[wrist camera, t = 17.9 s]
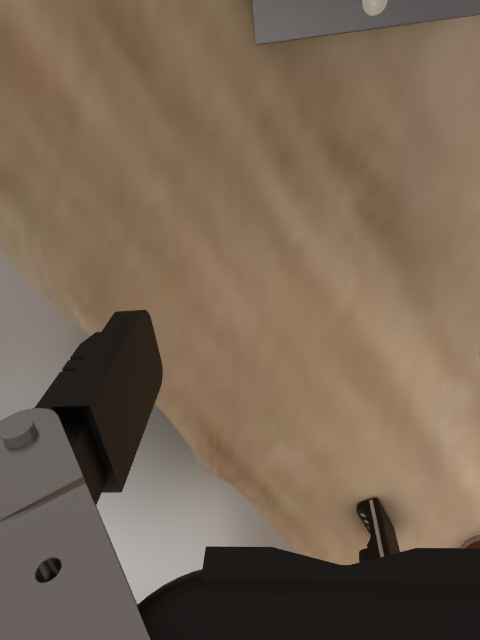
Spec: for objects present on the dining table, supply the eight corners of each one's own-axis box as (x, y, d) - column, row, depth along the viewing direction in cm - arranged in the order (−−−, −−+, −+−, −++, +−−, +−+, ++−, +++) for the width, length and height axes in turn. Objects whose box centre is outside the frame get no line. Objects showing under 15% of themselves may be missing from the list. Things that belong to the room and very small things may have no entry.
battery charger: (347, 502, 56) (361, 597, 46) (376, 495, 55) (397, 590, 45) (366, 534, 59) (384, 629, 49) (394, 527, 57) (418, 623, 48)
